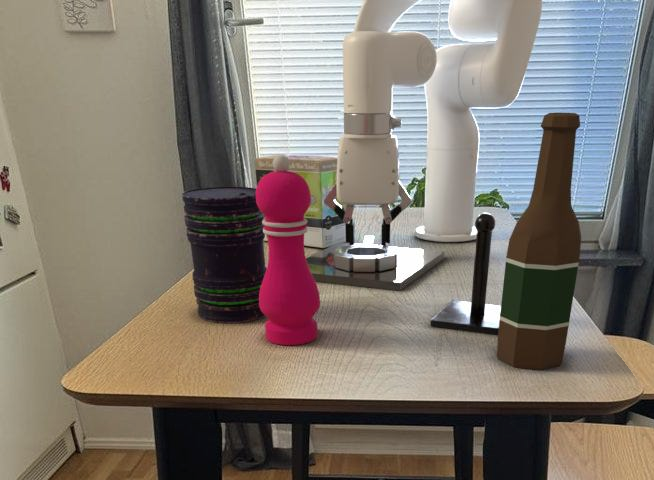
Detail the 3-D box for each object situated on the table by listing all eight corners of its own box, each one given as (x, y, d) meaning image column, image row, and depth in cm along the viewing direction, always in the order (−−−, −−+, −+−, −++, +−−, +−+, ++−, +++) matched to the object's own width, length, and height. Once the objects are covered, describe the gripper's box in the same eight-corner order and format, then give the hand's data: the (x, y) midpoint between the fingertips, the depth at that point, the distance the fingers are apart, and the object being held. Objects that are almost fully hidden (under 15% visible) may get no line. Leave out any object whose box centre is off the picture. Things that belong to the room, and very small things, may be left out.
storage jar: (182, 318, 88) (164, 196, 80) (222, 298, 95) (209, 185, 88) (248, 326, 84) (236, 200, 77) (284, 305, 92) (276, 188, 85)
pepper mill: (312, 349, 77) (304, 158, 67) (253, 345, 79) (236, 157, 68) (327, 329, 84) (322, 151, 73) (272, 325, 85) (259, 151, 74)
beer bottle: (486, 347, 78) (509, 111, 65) (552, 344, 78) (587, 110, 66) (505, 372, 71) (534, 115, 59) (576, 369, 72) (620, 114, 59)
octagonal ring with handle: (396, 272, 102) (397, 258, 101) (331, 271, 103) (331, 258, 102) (398, 247, 117) (398, 235, 116) (341, 247, 117) (340, 235, 116)
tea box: (353, 240, 129) (352, 155, 121) (323, 250, 121) (320, 160, 114) (290, 232, 136) (286, 151, 128) (259, 241, 128) (252, 156, 121)
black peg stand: (452, 305, 92) (458, 204, 85) (521, 313, 88) (533, 209, 82) (430, 326, 84) (435, 217, 78) (504, 335, 81) (517, 222, 74)
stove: (339, 249, 122) (339, 241, 122) (444, 258, 115) (445, 250, 115) (280, 277, 105) (280, 269, 104) (399, 290, 98) (400, 281, 98)
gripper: (422, 124, 107) (417, 243, 116) (316, 125, 108) (320, 242, 117) (422, 128, 101) (418, 252, 110) (311, 128, 101) (315, 252, 111)
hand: (368, 246), depth 114 cm, fingers open, 4 cm apart
